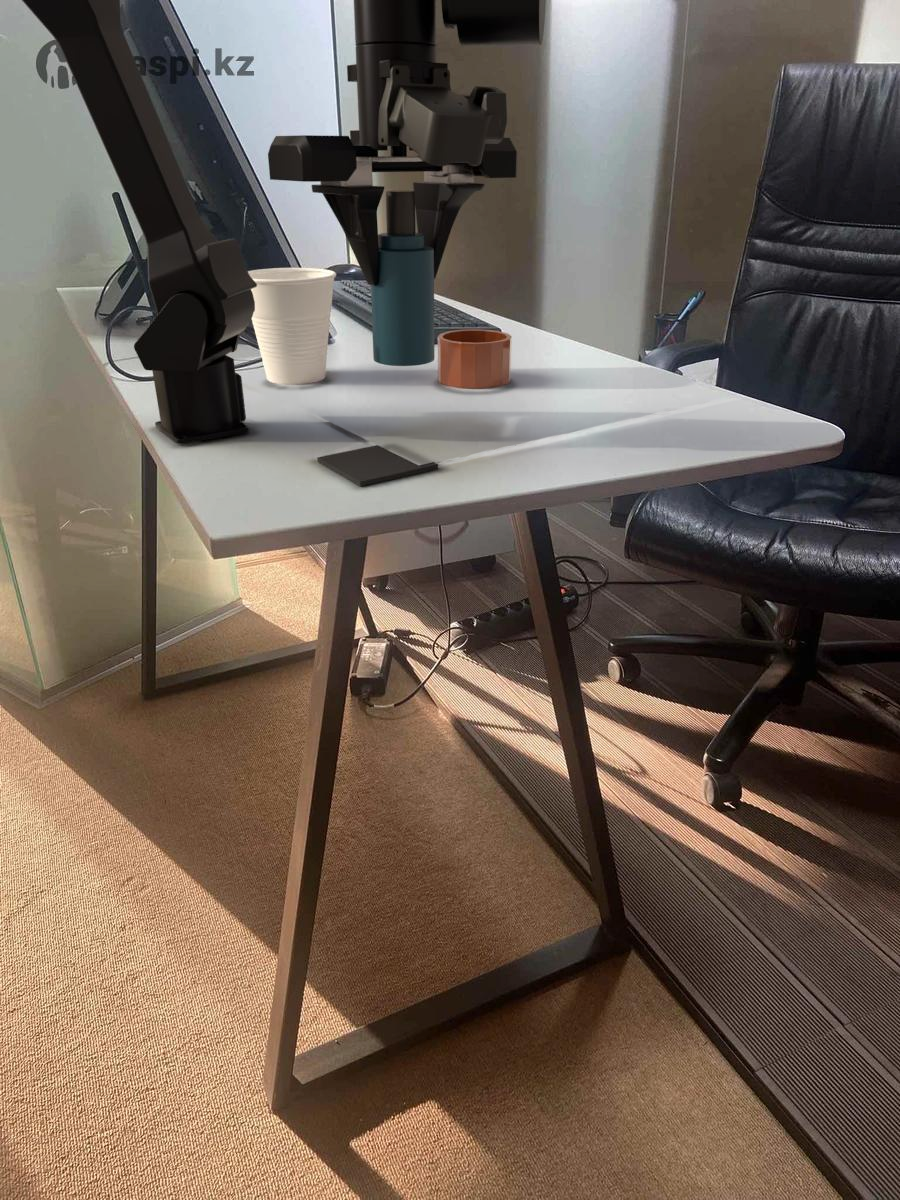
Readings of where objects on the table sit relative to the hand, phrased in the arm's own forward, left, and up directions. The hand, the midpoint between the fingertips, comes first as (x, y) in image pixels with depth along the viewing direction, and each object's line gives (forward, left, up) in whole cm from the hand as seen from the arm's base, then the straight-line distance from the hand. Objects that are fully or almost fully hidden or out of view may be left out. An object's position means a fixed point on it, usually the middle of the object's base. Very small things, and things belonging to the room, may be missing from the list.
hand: (401, 282), depth 67 cm
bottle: (0, 0, -6) cm, 6 cm away
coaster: (-5, -4, -13) cm, 15 cm away
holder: (+17, +13, -13) cm, 25 cm away
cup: (+2, +25, -13) cm, 28 cm away
